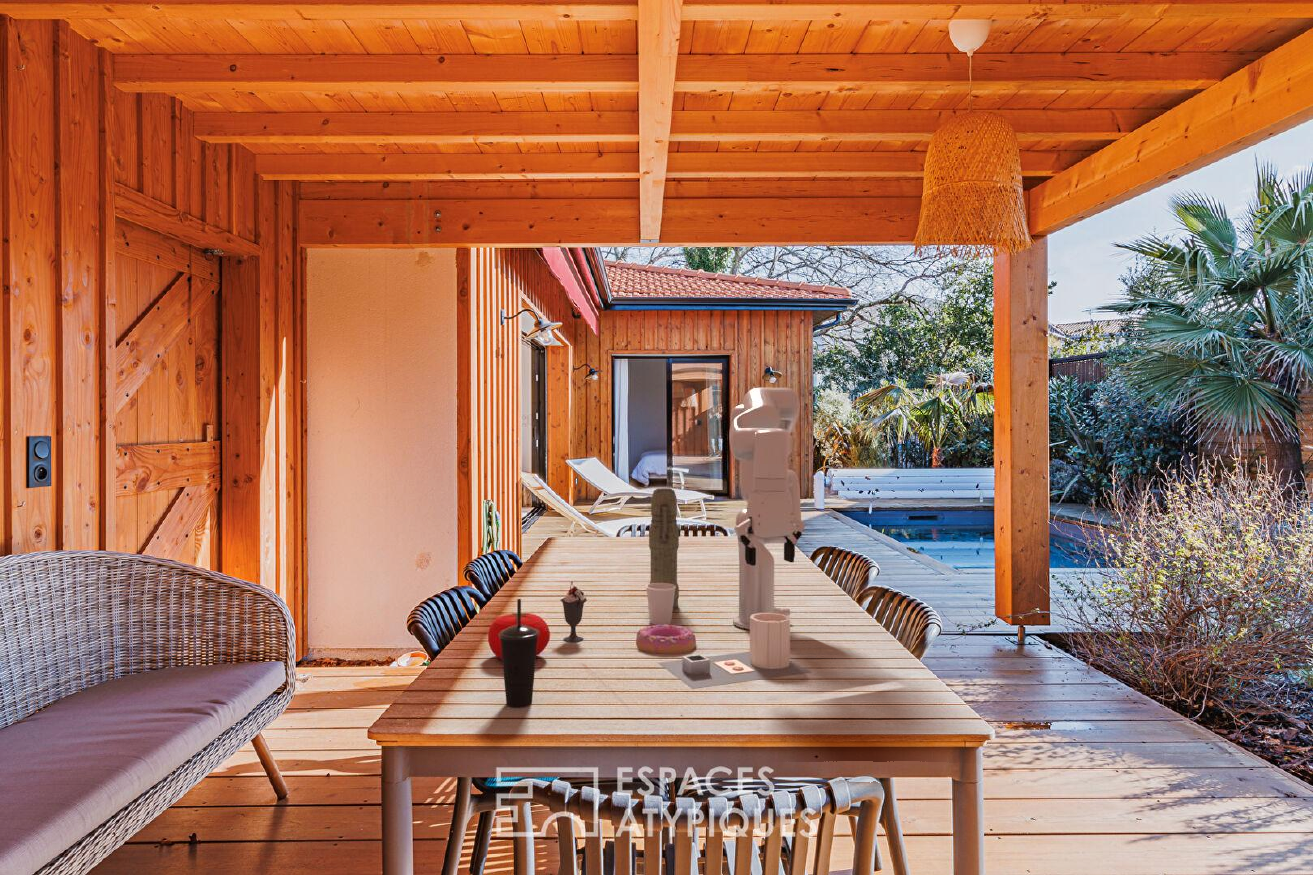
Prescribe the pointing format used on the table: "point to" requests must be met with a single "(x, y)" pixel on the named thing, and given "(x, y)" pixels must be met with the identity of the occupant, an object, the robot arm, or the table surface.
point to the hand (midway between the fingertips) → (770, 562)
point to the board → (730, 671)
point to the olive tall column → (664, 539)
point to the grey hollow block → (696, 665)
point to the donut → (665, 639)
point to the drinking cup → (519, 661)
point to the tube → (770, 640)
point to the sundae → (573, 611)
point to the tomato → (511, 620)
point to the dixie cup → (660, 602)
